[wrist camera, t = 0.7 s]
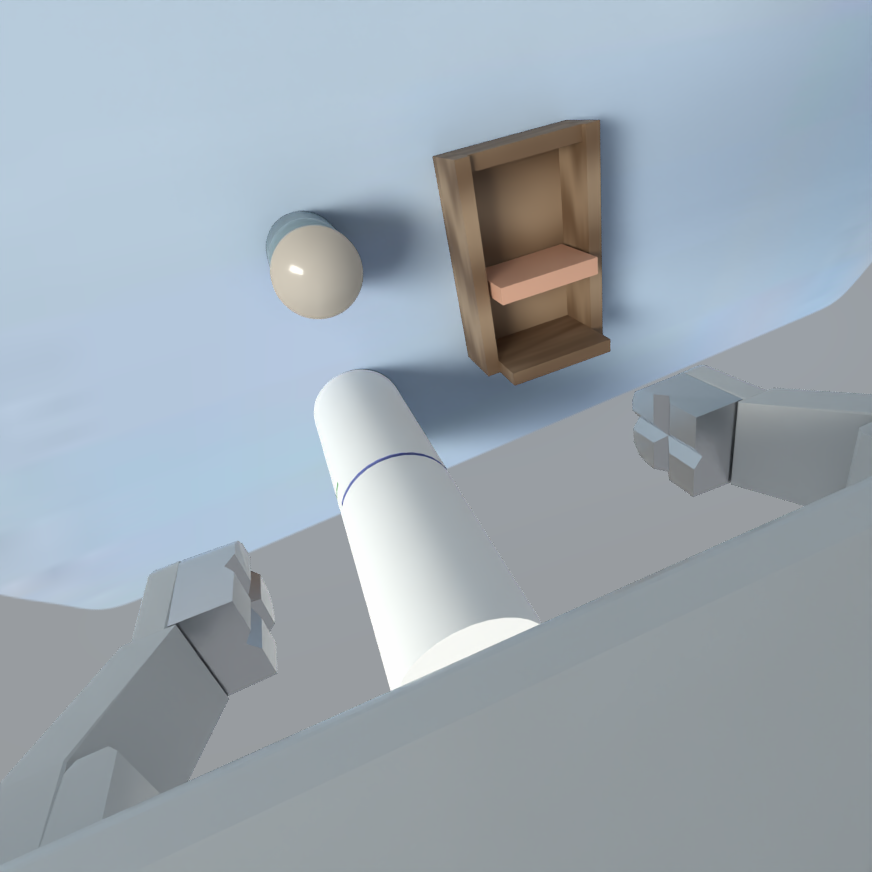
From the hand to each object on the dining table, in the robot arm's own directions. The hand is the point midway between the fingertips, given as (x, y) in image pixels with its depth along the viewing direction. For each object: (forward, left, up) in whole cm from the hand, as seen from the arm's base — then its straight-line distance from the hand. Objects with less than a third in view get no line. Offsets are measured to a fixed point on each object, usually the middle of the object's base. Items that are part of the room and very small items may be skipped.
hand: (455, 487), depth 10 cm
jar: (+1, 0, -29) cm, 30 cm away
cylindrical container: (+14, 0, -30) cm, 33 cm away
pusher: (+6, +15, -29) cm, 33 cm away
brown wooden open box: (+5, +15, -29) cm, 33 cm away
